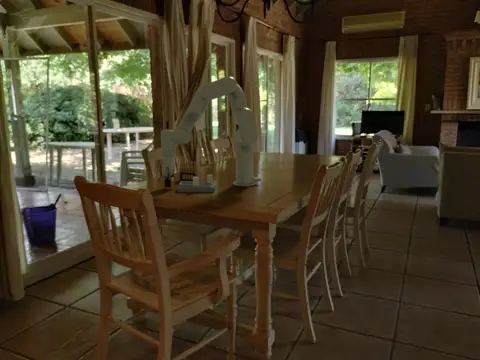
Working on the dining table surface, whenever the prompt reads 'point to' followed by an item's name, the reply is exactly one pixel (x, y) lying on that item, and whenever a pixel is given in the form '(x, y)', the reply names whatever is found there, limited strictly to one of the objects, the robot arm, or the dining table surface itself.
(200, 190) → the panel
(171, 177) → the lockout cap
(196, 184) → the switch
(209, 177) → the switch tagged
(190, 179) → the ammunition clip
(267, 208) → the dining table surface
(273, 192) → the dining table surface
